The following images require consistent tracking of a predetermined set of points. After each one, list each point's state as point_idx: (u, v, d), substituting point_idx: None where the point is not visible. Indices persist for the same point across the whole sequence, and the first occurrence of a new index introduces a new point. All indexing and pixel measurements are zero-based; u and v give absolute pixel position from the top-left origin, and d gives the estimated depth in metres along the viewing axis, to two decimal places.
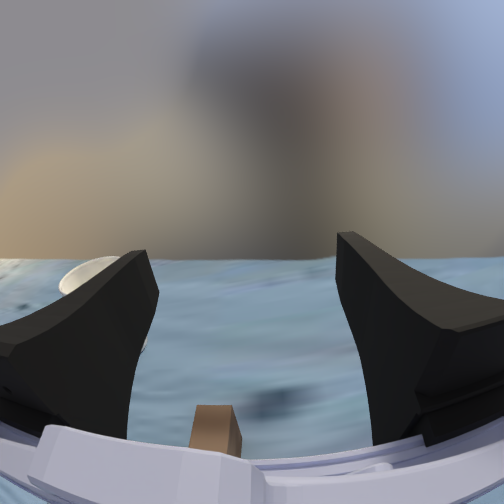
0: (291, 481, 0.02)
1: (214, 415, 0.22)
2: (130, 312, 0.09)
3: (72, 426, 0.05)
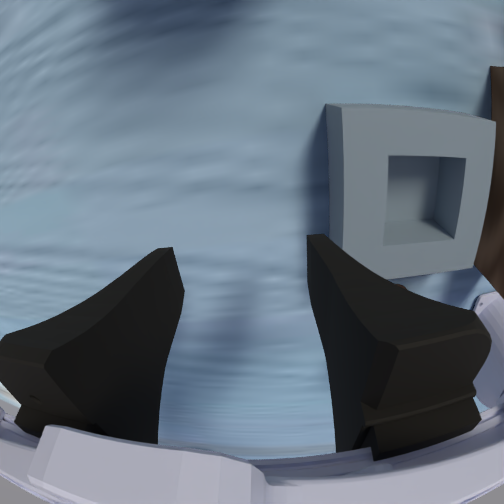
0: (291, 481, 0.02)
1: None
2: (159, 311, 0.09)
3: (108, 435, 0.05)
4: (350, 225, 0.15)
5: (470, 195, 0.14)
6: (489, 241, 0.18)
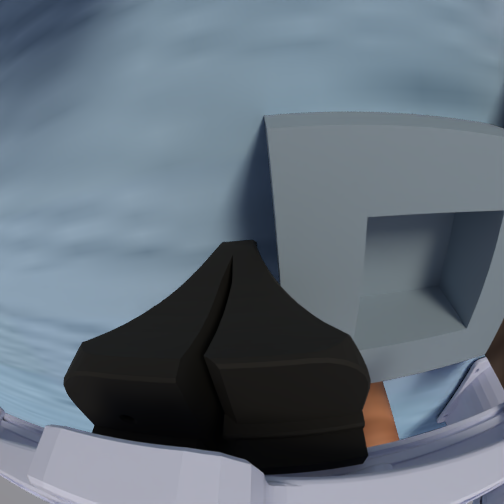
0: (291, 481, 0.02)
1: None
2: None
3: (214, 447, 0.05)
4: None
5: (501, 267, 0.08)
6: None
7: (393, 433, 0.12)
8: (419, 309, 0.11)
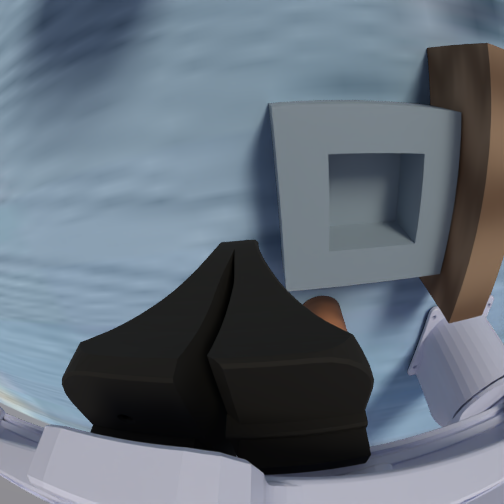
0: (291, 481, 0.02)
1: None
2: None
3: (212, 447, 0.05)
4: (290, 230, 0.15)
5: (431, 195, 0.14)
6: None
7: None
8: (379, 232, 0.17)
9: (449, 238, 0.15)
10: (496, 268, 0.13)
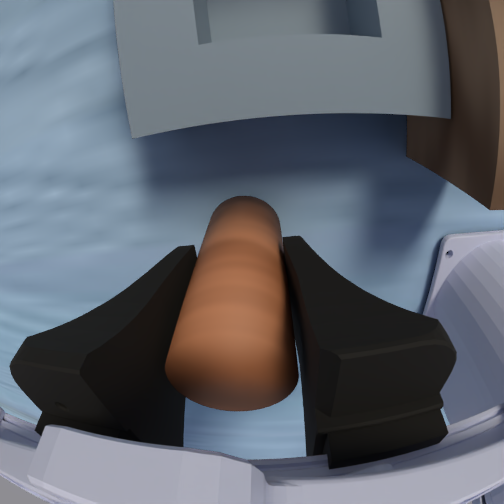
0: (291, 481, 0.02)
1: None
2: None
3: (140, 440, 0.05)
4: (126, 20, 0.06)
5: None
6: None
7: (267, 264, 0.09)
8: None
9: (449, 47, 0.06)
10: None
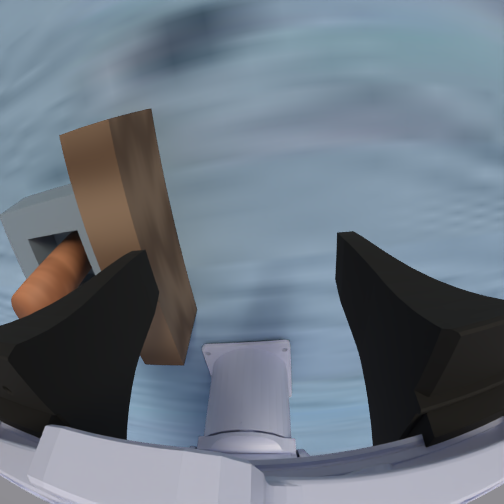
0: (291, 481, 0.02)
1: (89, 147, 0.12)
2: (130, 312, 0.09)
3: (72, 426, 0.05)
4: None
5: None
6: None
7: (55, 269, 0.16)
8: None
9: None
10: (162, 326, 0.18)
